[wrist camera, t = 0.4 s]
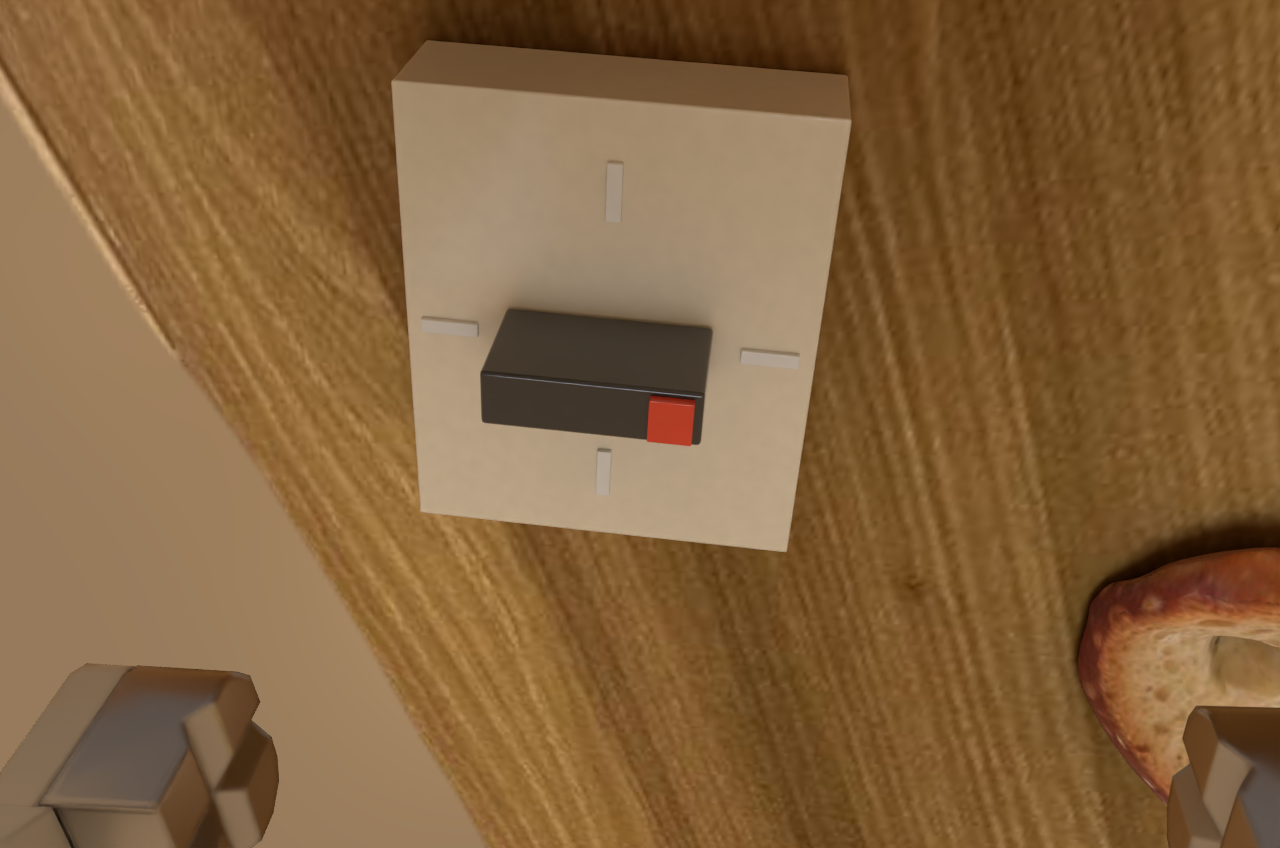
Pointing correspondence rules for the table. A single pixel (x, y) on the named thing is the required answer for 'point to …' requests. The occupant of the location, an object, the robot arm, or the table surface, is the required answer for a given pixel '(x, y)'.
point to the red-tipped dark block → (598, 376)
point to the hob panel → (617, 272)
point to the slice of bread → (1181, 652)
